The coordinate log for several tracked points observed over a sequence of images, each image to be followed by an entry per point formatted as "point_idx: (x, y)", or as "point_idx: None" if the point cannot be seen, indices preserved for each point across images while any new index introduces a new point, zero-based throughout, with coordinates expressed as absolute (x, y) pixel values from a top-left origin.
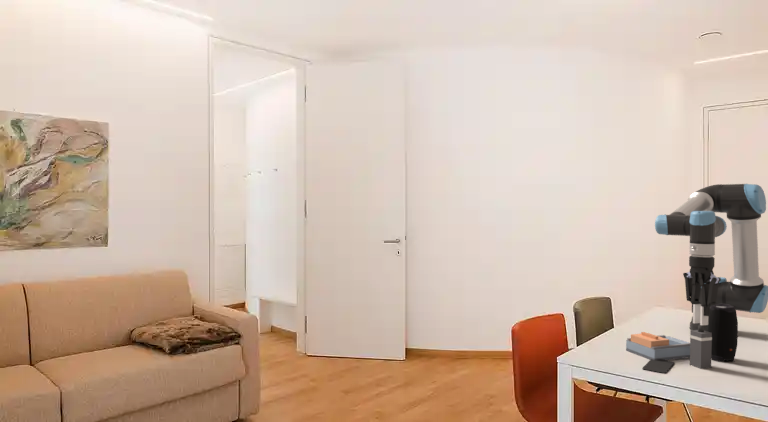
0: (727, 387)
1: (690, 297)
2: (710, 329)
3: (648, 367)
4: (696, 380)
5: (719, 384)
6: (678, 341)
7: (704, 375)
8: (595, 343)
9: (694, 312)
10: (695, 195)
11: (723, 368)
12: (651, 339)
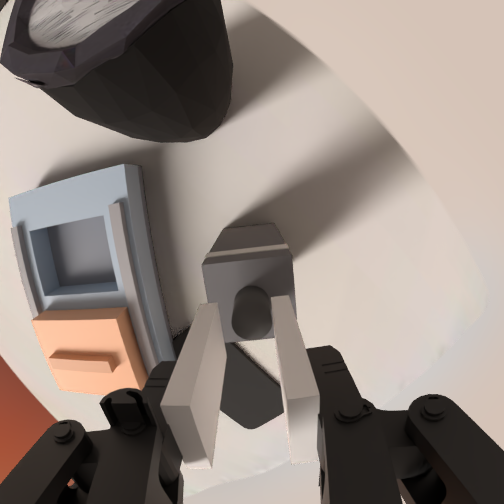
0: (428, 314)
1: (82, 484)
2: (138, 130)
3: (244, 415)
4: (365, 358)
5: (408, 319)
6: (62, 210)
7: (339, 308)
8: (28, 381)
9: (216, 412)
10: None
11: (290, 182)
12: (116, 379)
